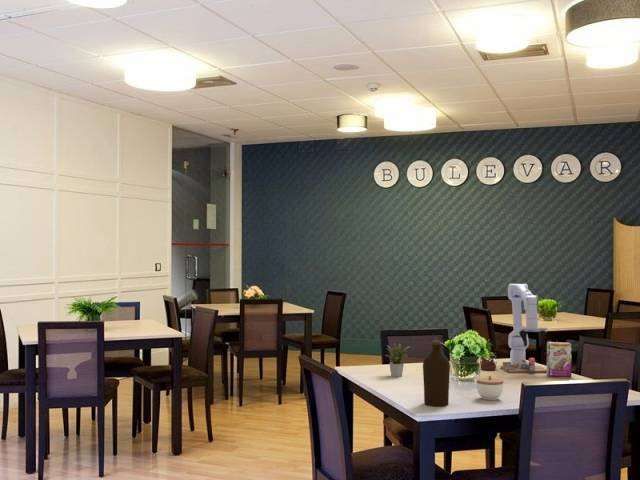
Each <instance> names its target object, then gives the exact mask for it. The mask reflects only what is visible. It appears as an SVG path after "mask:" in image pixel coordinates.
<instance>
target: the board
mask: <svg viewBox="0 0 640 480" xmlns="http://www.w3.org/2000/svg"><path fill="white" fill-rule="evenodd" d="M500 369H501V370H503V371H505V372H506V373H509V374H547V368H544V367H542V366H540V365H539V366H538V365H535V371H530V370H528V369H522V368H520V366H519V367H518V368H515V364H511V362H510V361H502V365H501V366H500Z"/></svg>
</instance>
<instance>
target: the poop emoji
mask: <svg viewBox="0 0 640 480" xmlns="http://www.w3.org/2000/svg"><path fill="white" fill-rule="evenodd" d="M480 364H481V368H480V369H481V370H482V371H485V372H486V371H489V372H493V371H496V369H497V364H498V361H497V360H496V359H495V358H494V357H492V360H491V361H489V360H486V359H482V361H481V360H480Z"/></svg>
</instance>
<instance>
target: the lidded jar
mask: <svg viewBox="0 0 640 480" xmlns="http://www.w3.org/2000/svg"><path fill="white" fill-rule="evenodd" d="M476 389H477V393H478V395H479V396H480V397H481V399H482V400H485V401H497V400H498V399H499V398H500V397H501V395H502V393H503V390H504V380H503V379H501V378H496V377H492V376H491V375H488V377H478V378H477V379H476Z"/></svg>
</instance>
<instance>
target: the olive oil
mask: <svg viewBox="0 0 640 480" xmlns="http://www.w3.org/2000/svg"><path fill="white" fill-rule="evenodd" d="M441 347H442V344H441V340H437V339H433V340H432V344H431V348H432V349H431V351H430V352H429V353H428V354H427V355H426V356H425V358H424V359H423V362H422V375H423V376H422V377H423V402H424V405H426V406H429V407H447V406H448V405H449V399H450V398H449V395H450V392H449V391H450V390H449V389H450V377H451V363H450V359H449V358H448V357H447V356H446V355H445V353H444V352H443V351H442V349H441Z"/></svg>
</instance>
